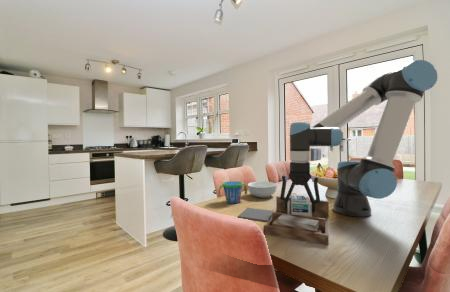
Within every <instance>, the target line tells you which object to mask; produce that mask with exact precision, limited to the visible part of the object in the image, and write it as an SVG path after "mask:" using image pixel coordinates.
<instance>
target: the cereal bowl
mask: <svg viewBox="0 0 450 292" xmlns="http://www.w3.org/2000/svg"><path fill="white" fill-rule="evenodd" d="M277 187H278V185H277V183H276V182H271V181H252V182H248V183H247V191H248V192H249V193H250V194H251V195H253V196H255V197H256V198H260V197H261V198H262V199H263V198H269V197H270V196H272V195H274V194H275V193H276V191H277V189H278V188H277ZM261 198H260V199H261Z"/></svg>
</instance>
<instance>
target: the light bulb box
mask: <svg viewBox="0 0 450 292" xmlns="http://www.w3.org/2000/svg"><path fill="white" fill-rule="evenodd" d="M290 207H291V214H293V215H301V216H309V217H310V198H309V196H308V194H307V193H301V192H300V193H297V192H296V193H295V192H292V193H291V195H290Z"/></svg>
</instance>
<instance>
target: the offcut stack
mask: <svg viewBox="0 0 450 292" xmlns="http://www.w3.org/2000/svg"><path fill="white" fill-rule="evenodd" d="M272 226H276V227H283V228H290V229H296V230H303V231H310V232H317V233H322V231H320V230H318V226H319V221H318V220H312V219H307V218H301V217H296V216H290V215H285V214H282V215H281V216H280V217H279V218H276V219H275V220H274V222H273V223H272Z"/></svg>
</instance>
